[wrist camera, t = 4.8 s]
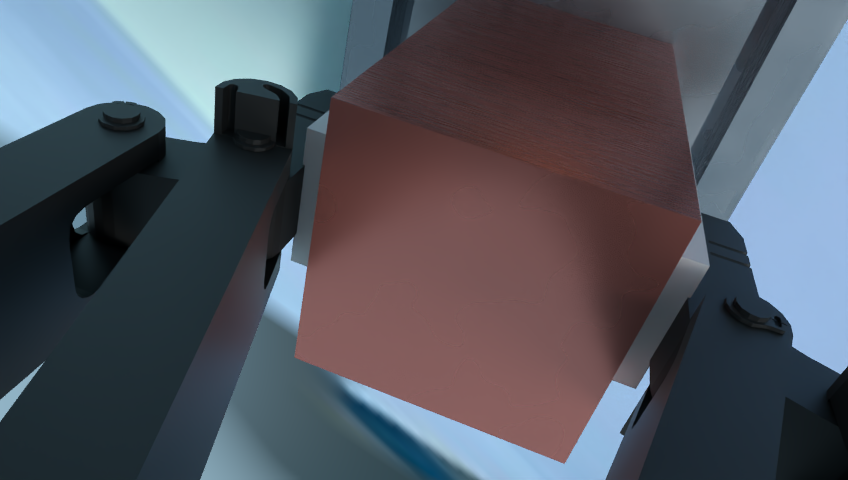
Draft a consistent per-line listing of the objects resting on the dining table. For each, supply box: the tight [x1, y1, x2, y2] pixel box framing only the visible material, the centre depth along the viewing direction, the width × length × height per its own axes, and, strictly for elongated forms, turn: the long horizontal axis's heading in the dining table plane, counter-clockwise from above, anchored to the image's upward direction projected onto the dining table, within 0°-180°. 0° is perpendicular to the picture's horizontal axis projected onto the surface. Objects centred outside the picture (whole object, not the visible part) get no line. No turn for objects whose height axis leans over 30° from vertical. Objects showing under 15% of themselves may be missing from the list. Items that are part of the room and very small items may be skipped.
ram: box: [295, 0, 767, 464], centre depth 13 cm, size 8×8×11 cm
